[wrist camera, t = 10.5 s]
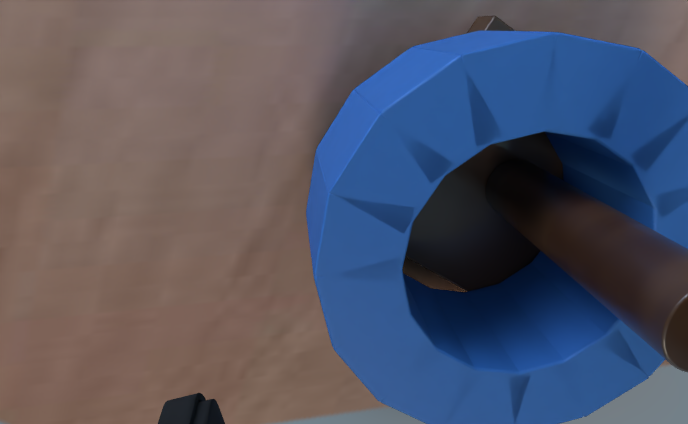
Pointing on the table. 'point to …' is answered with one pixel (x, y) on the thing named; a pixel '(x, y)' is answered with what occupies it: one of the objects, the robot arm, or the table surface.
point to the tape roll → (531, 281)
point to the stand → (552, 236)
